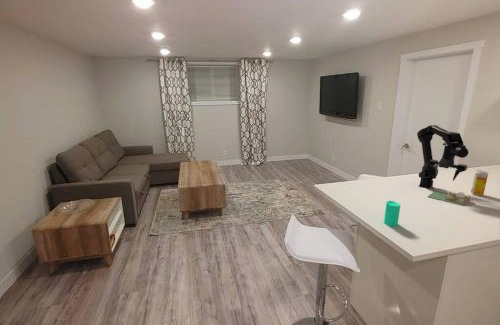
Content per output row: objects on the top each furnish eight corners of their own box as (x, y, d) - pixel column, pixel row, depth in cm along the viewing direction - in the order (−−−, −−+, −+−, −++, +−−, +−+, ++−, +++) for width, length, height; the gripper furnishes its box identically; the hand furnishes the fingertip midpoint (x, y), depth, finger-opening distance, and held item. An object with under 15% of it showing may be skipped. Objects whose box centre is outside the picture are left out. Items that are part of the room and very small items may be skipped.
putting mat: (427, 197, 161) (427, 196, 161) (434, 191, 170) (434, 191, 170) (464, 206, 148) (464, 205, 147) (469, 199, 156) (470, 199, 156)
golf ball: (468, 199, 151) (459, 201, 153) (465, 198, 156) (456, 200, 157) (464, 191, 152) (455, 194, 154) (461, 191, 156) (453, 193, 158)
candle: (381, 220, 131) (384, 198, 128) (392, 220, 131) (395, 197, 128) (388, 226, 125) (391, 203, 122) (400, 226, 126) (403, 202, 123)
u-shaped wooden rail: (444, 199, 156) (445, 195, 156) (448, 195, 162) (449, 191, 161) (465, 204, 149) (466, 200, 148) (469, 200, 155) (469, 196, 154)
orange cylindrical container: (485, 196, 161) (491, 172, 158) (474, 195, 162) (479, 172, 159) (479, 193, 167) (484, 170, 163) (468, 192, 168) (473, 169, 164)
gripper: (426, 153, 159) (422, 177, 164) (465, 158, 146) (459, 185, 150) (432, 150, 166) (428, 174, 170) (470, 155, 152) (464, 181, 156)
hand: (444, 178), depth 162 cm, fingers open, 9 cm apart
